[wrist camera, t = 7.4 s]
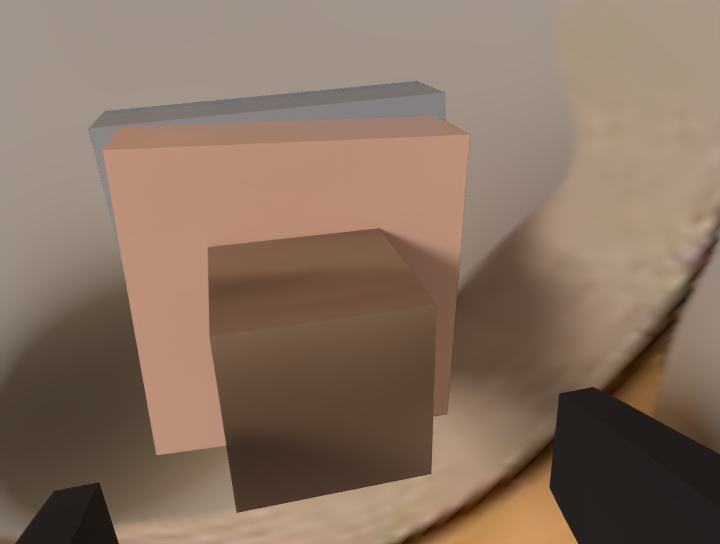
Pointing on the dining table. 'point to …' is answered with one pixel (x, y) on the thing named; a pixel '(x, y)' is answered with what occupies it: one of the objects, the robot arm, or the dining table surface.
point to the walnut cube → (320, 365)
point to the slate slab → (273, 112)
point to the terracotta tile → (271, 230)
